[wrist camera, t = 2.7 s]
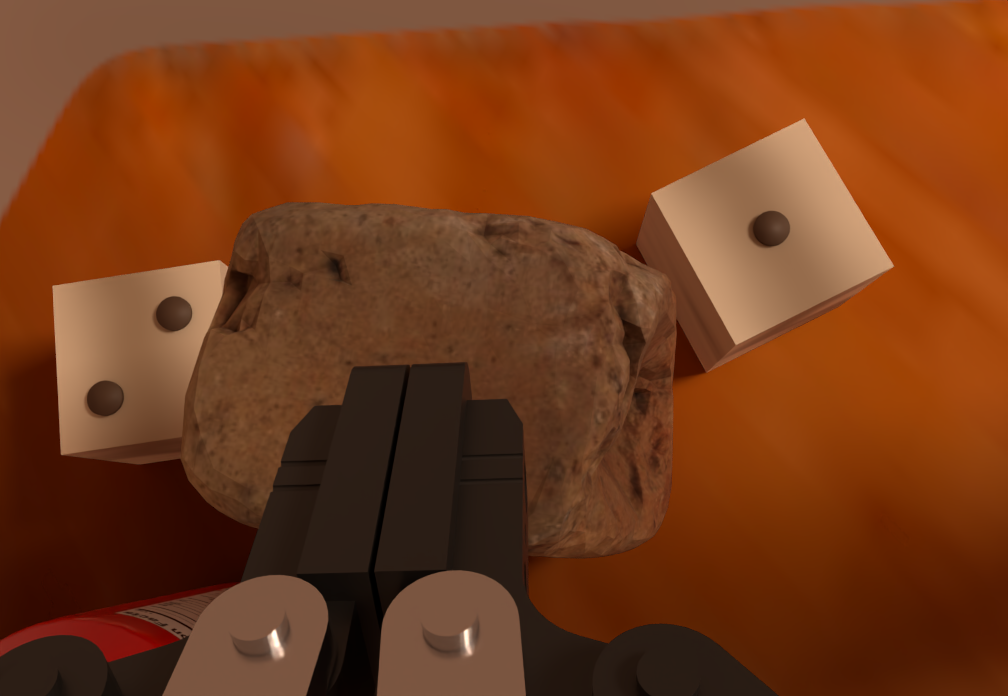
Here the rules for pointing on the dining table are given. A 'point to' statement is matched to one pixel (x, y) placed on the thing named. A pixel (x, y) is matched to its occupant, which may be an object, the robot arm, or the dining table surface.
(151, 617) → the soda can
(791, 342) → the dining table surface
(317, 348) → the block
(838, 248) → the dotted cube one
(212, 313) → the dotted cube two
